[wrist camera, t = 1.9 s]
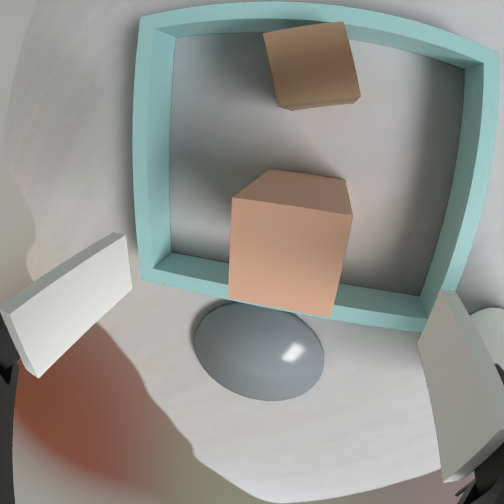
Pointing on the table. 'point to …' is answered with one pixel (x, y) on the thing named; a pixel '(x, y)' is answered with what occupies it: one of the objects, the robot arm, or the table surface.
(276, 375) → the grey dome puck
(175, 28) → the corral
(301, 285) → the painted box
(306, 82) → the walnut block
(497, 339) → the cup
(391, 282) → the table surface
